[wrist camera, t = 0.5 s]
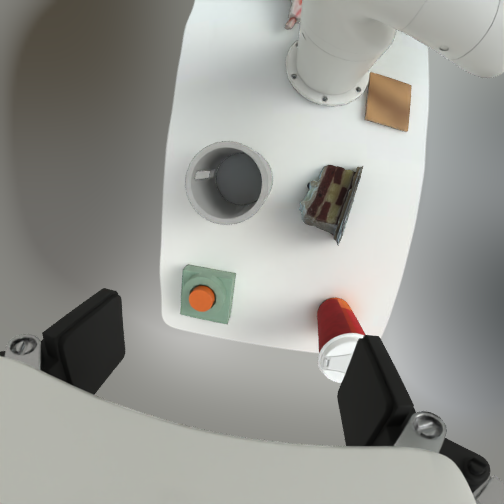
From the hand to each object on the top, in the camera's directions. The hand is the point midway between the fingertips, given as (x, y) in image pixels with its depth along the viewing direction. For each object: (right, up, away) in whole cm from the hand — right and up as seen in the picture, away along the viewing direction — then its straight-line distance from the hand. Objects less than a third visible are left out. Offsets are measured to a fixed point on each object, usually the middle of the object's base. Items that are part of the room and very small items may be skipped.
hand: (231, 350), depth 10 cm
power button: (-7, -3, +33) cm, 34 cm away
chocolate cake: (+12, +12, +31) cm, 35 cm away
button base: (-6, -3, +37) cm, 38 cm away
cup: (-1, +14, +32) cm, 35 cm away
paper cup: (+14, -6, +36) cm, 39 cm away
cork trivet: (+21, +26, +25) cm, 42 cm away
